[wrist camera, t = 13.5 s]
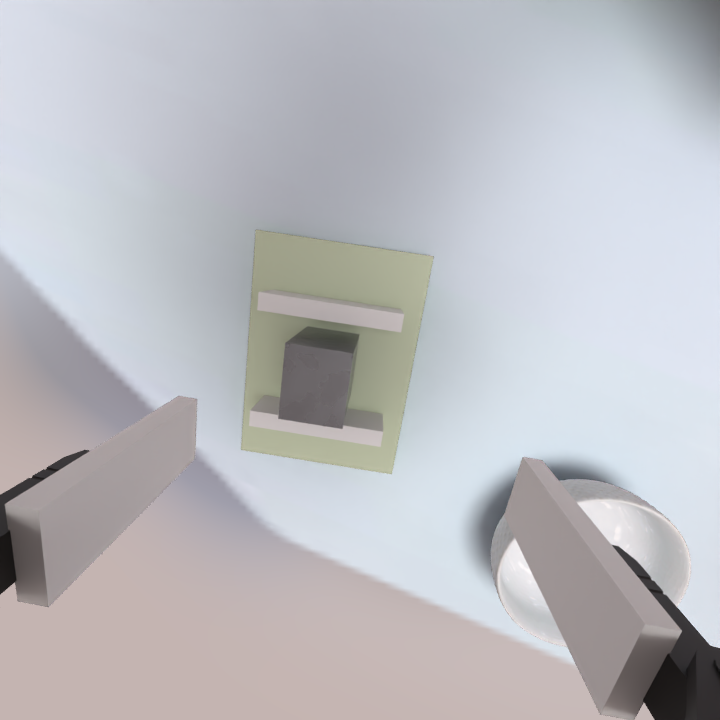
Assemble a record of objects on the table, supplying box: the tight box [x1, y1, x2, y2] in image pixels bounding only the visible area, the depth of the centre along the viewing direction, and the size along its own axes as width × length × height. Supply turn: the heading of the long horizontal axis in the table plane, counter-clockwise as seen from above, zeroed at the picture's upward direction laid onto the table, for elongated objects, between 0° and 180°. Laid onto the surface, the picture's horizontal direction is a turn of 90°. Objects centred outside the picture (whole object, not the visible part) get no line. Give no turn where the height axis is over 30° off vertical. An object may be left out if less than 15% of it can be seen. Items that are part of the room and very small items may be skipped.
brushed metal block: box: [278, 326, 360, 429], centre depth 30 cm, size 6×5×8 cm
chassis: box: [241, 230, 434, 474], centre depth 32 cm, size 22×16×6 cm
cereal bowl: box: [491, 479, 691, 647], centre depth 35 cm, size 17×17×7 cm
